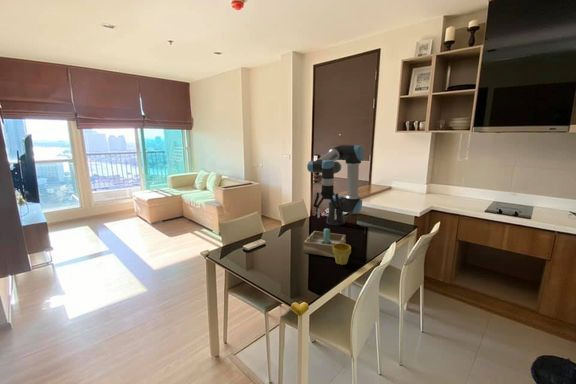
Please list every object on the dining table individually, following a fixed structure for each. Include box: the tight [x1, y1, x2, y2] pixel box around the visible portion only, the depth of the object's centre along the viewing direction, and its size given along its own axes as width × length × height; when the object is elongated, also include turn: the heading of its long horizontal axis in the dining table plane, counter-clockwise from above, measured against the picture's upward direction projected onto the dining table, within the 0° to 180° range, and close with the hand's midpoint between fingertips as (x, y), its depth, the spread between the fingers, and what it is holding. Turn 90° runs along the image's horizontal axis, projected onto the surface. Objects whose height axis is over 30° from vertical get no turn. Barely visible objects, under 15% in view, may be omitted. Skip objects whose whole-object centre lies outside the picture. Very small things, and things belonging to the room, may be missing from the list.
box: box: [303, 230, 347, 258], centre depth 178 cm, size 22×22×7 cm
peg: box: [323, 228, 331, 245], centre depth 181 cm, size 4×4×12 cm
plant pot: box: [333, 243, 352, 266], centre depth 158 cm, size 10×10×10 cm
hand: (326, 218), depth 178 cm, fingers open, 10 cm apart
